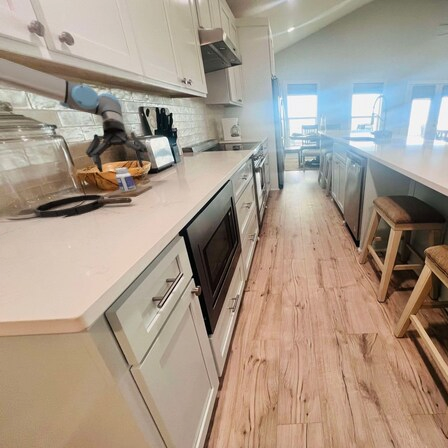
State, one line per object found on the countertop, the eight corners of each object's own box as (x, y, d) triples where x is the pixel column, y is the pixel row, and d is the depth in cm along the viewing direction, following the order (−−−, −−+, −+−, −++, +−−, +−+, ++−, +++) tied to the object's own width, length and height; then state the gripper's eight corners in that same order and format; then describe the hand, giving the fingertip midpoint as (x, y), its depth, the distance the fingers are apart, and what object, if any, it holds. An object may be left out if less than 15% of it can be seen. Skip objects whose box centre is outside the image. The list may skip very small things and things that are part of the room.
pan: (22, 220, 73) (17, 211, 72) (68, 202, 88) (65, 195, 87) (117, 214, 74) (113, 206, 72) (146, 198, 89) (144, 190, 88)
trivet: (104, 198, 92) (103, 195, 91) (123, 189, 103) (122, 187, 102) (136, 196, 92) (135, 193, 92) (152, 188, 103) (151, 185, 103)
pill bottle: (137, 187, 100) (130, 166, 97) (135, 190, 96) (128, 168, 92) (122, 189, 98) (114, 168, 95) (119, 193, 94) (111, 170, 90)
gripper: (149, 131, 109) (158, 169, 103) (80, 135, 99) (86, 177, 92) (145, 118, 102) (154, 158, 96) (71, 120, 92) (76, 165, 86)
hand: (121, 167), depth 94 cm, fingers open, 13 cm apart
